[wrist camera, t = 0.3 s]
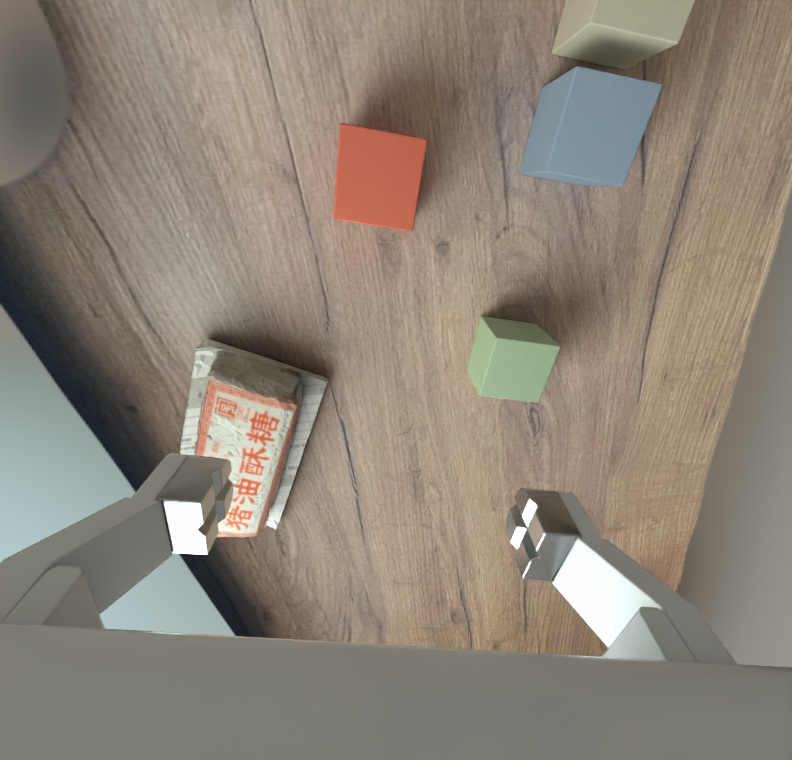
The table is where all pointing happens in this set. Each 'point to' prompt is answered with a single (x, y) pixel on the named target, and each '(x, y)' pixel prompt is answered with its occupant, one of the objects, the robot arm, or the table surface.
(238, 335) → the table surface
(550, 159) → the blue-grey block
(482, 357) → the sage block
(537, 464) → the table surface
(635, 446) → the table surface
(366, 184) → the coral block
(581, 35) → the cream block
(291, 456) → the packaged product
